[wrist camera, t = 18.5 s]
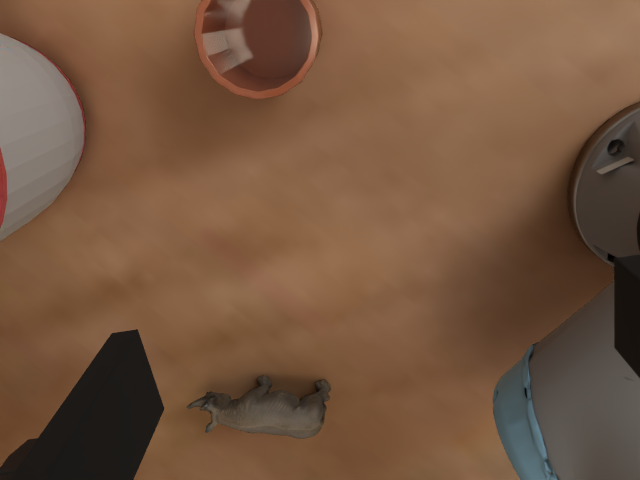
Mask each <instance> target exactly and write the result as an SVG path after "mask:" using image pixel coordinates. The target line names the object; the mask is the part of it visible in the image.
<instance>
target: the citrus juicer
mask: <svg viewBox="0 0 640 480" xmlns="http://www.w3.org/2000/svg"><path fill="white" fill-rule="evenodd" d="M85 140H86V121H85V115H84V110H83V106H82V103H81V101H80V98H79V95H78V93H77V92H76V90H75V88H74V86H73V85H72V83H71V81H70V80H69V79H68V78H67V77H66V75H65V74H64V73H63V72H62V70H61V69H60V68H59V67H58V66H57V65H56V64H54V63H53V62H52V61H51V60H50V59H49V58H47V57H46V56H45V55H44V54H43V53H41V52H40V51H38V50H36V49H35V48H33V47H31V46H30V45H28V44H26V43H24V42H21V41H18V40H16V39H13V38H11V37H8V36H5V35H3V34H0V241H2V240H3V239H5V238H6V237H7V236H9V235H10V234H12V233H13V232H15V231H16V230H18V229H19V228H21V227H22V226H24V225H25V224H27V223H28V222H29V221H31V220H32V219H33V218H35V217H36V216H37V215H38V214H40V213H41V212H42V211H43V210H45V209H46V208H47V207H48V206H49V205H51V204H52V203H53V201H54V200H55V199H56V198H57V196H58V195H59V194H60V193H61V192H62V190H63V189H64V188H65V186H66V185H67V184H68V182H69V181H70V179H71V177H72V175H73V173H74V172H75V171H76V169H77V166H78V164H79V162H80V160H81V158H82V154H83V150H84V146H85Z"/></svg>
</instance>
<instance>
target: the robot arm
mask: <svg viewBox="0 0 640 480" xmlns="http://www.w3.org/2000/svg"><path fill="white" fill-rule="evenodd" d="M568 208H569V213H570V218H571V221H572V224H573V226H574V228H575V230H576V232H577V234H578V235H579V237H580V238H581V240H582V241H583V242H584V243H585V244H586V245H587V246H588V248H589V249H591V250H592V251H593V252H594V253H595V254H596V255H597V256H598V257H599V258H601V259H602V260H603V261H605V262H606V263H608V264H609V265H611V266H613V267H614V281H613V282H611V283H610V284H609V285H608V286H607V287H606V288H604V289H603V290H602V291H601V292H600V293H598V294H597V295H596V296H595V297H594V298H592V299H591V300H590V301H589V302H588V303H587V304H585V305H584V306H583V307H582V308H581V309H579V310H578V311H577V312H576V313H574V314H573V315H572V316H571V317H570V318H568V319H567V320H566V321H565V322H563V323H562V324H561V325H560V326H558V327H557V328H556V329H555V330H553V331H552V332H551V333H550V334H549V335H547V336H546V337H545V338H544V339H542V340H541V341H540V342H537V343H536V344H533V345H532V346H530V347H529V348H528V349H527V351H526V353H525V355H524V357H523V358H522V359H521V360H519V361H518V362H517V363H516V364H515V365H514V366H513V367H512V368H511V369H510V370H509V371H507V372H506V373H505V374H504V375H503V376H502V377H501V378H500V380H499V381H498V383H497V385H496V387H495V390H494V396H493V414H494V419H495V423H496V427H497V430H498V433H499V436H500V439H501V441H502V444H503V446H504V449H505V451H506V453H507V455H508V457H509V459H510V461H511V463H512V465H513V467H514V469H515V471H516V473H517V474H518V476H519V478H520V480H640V102H638V103H636V104H633V105H632V106H630V107H628V108H626V109H624V110H622V111H621V112H619V113H618V114H616V115H615V116H613V117H612V118H611V119H609V120H608V121H607V122H606V123H605V124H604V125H602V126H601V127H600V128H599V129H598V130H597V131H596V132H595V133H594V135H593V136H592V137H591V138H590V139H589V141H588V142H587V143H586V145H585V146H584V148H583V149H582V151H581V153H580V155H579V157H578V158H577V161H576V163H575V165H574V168H573V171H572V174H571V177H570V182H569V188H568ZM163 411H164V406H163V403H162V400H161V397H160V395H159V392H158V389H157V386H156V383H155V380H154V377H153V374H152V371H151V368H150V365H149V362H148V359H147V356H146V353H145V350H144V347H143V344H142V341H141V338H140V335H139V332H138V330H131V331H124V332H117V333H112V334H111V335H110V337H109V338H108V340H107V341H106V342H105V344H104V345H103V347H102V348H101V350H100V351H99V352H98V354H97V355H96V357H95V358H94V360H93V361H92V362H91V364H90V365H89V367H88V368H87V369H86V371H85V372H84V374H83V375H82V377H81V378H80V379H79V381H78V382H77V384H76V385H75V387H74V388H73V389H72V391H71V392H70V394H69V395H68V397H67V398H66V399H65V401H64V402H63V404H62V405H61V406H60V408H59V409H58V411H57V412H56V414H55V415H54V416H53V418H52V419H51V421H50V422H49V424H48V425H47V426H46V428H45V429H44V431H43V432H42V433H41V435H40V436H39V438H37V439H29V440H27V441H26V442H25V443H24V444H23V445H21V446H20V447H19V448H18V449H17V450H15V451H14V452H13V453H12V454H11V455H10V456H9V457H8V458H7V459H6V461H5V462H4V463H3V465H2V466H1V467H0V480H133V479H134V477H135V475H136V472H137V470H138V468H139V465H140V463H141V461H142V459H143V456H144V454H145V452H146V449H147V447H148V445H149V443H150V440H151V438H152V436H153V433H154V431H155V429H156V427H157V424H158V422H159V420H160V417H161V415H162V413H163Z"/></svg>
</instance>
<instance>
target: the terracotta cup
mask: <svg viewBox="0 0 640 480" xmlns="http://www.w3.org/2000/svg"><path fill="white" fill-rule="evenodd" d="M194 36H195V41H196V45H197V49H198V53H199V57H200V59H201V61H202V63H203V64H204V66H205V67H206V69H207V70H208V72H209V73H210V75H211V76H212V77H213V79H214V80H215V81H216V82H218V83H219V84H221V85H222V86H223V87H225V88H226V89H228V90H229V91H231V92H232V93H234V94H236V95H240V96H245V97H249V98H254V99H263V98H269V97H274V96H280V95H282V94H284V93H285V92H287V91H288V90H290V89H291V88H293V87H294V86H296V85H297V84H299V83H300V82H301V81H302V79H303V78H304V76H305V75H306V73H307V72H308V70H309V69H310V67H311V66H312V64H313V63H314V61H315V59H316V57H317V55H318V52H319V47H320V43H321V37H322V26H321V20H320V15H319V10H318V8H317V7H316V5H315V3H314V1H313V0H202V1H201V3H200V4H199V6H198V9H197V14H196V22H195V30H194Z"/></svg>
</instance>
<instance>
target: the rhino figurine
mask: <svg viewBox="0 0 640 480" xmlns="http://www.w3.org/2000/svg"><path fill="white" fill-rule="evenodd" d="M257 382H258V384H259V386H260V387H259V388H255V389H253V390H250V391H248V392H247V393H246V394H244V395H243V396H242V397H241V398H240V399H234V400H232V401H231V397H230V396H229V395H227V394H223V393H221V394H220V393H213V392H207V393H206V395H205V396H204V397H202V398H200V399H198V400H196V401H194V402H192V403H191V404H189V405H188V407H187V409H190V408H193V407H201V408H200V409H199V410H206V411H209V412H210V414H211V421H212V422H211V423H209V424H208V425H207V426H206V433H208V432H210V431H211V430H212V429H213V428H214V427H215V426H216V425H217V424H221V425H226V426H228V427H231V428H234V429H237V430H241V431H245V432H248V433H267V434H273V435H286V436H291V437H294V438H298V439H304V438H309V437H312V436H315V435H316V434H317V433H318V432H319V431H320V429H321V427H322V425H323V423H324V417H325V411H326V405H325V404H324V402H325V401H328V400H329V399H330V396H329V395H328V392H329V391H330V390H331V388H330V385H329V384H328V383H327V382H326V381H325V380H321V381H317V382H316V383H315V386H316V391H317V393H315V394H312V395H308V396H304V397H302V398H301V399H298V398H297V397H296V396H295V395H293V394H291V393H289V392H287V391H283V390H280V391H274V392H272V393H268V391H269V388H270V387H271V386H272V383H271V381H270V380H269V378H268V377H267V376H266V375H264V376H262V377H258V378H257Z"/></svg>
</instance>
